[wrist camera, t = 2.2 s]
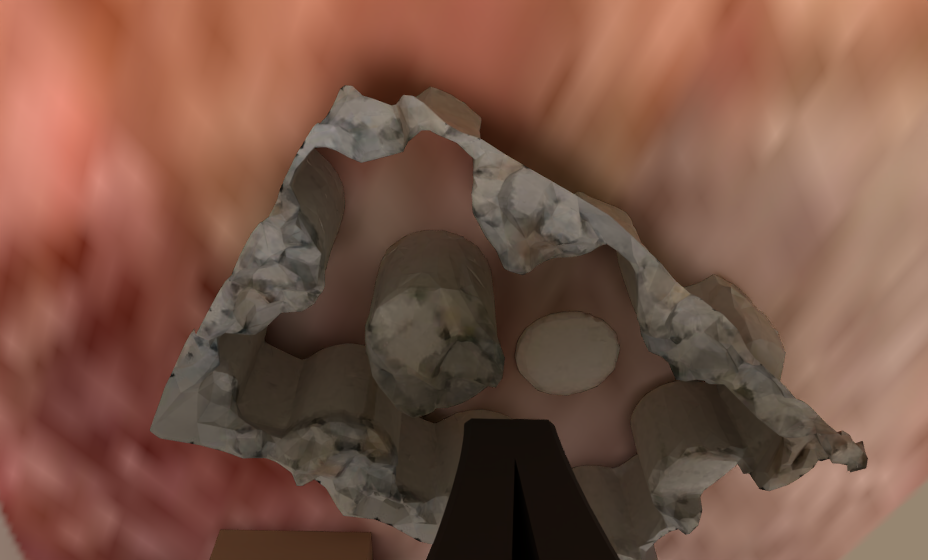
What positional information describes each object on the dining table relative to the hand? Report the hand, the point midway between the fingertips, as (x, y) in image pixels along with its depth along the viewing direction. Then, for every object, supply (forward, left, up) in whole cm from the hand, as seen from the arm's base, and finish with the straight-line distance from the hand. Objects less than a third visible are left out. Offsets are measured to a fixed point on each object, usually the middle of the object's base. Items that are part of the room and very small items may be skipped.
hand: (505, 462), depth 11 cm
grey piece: (0, 0, -4) cm, 4 cm away
